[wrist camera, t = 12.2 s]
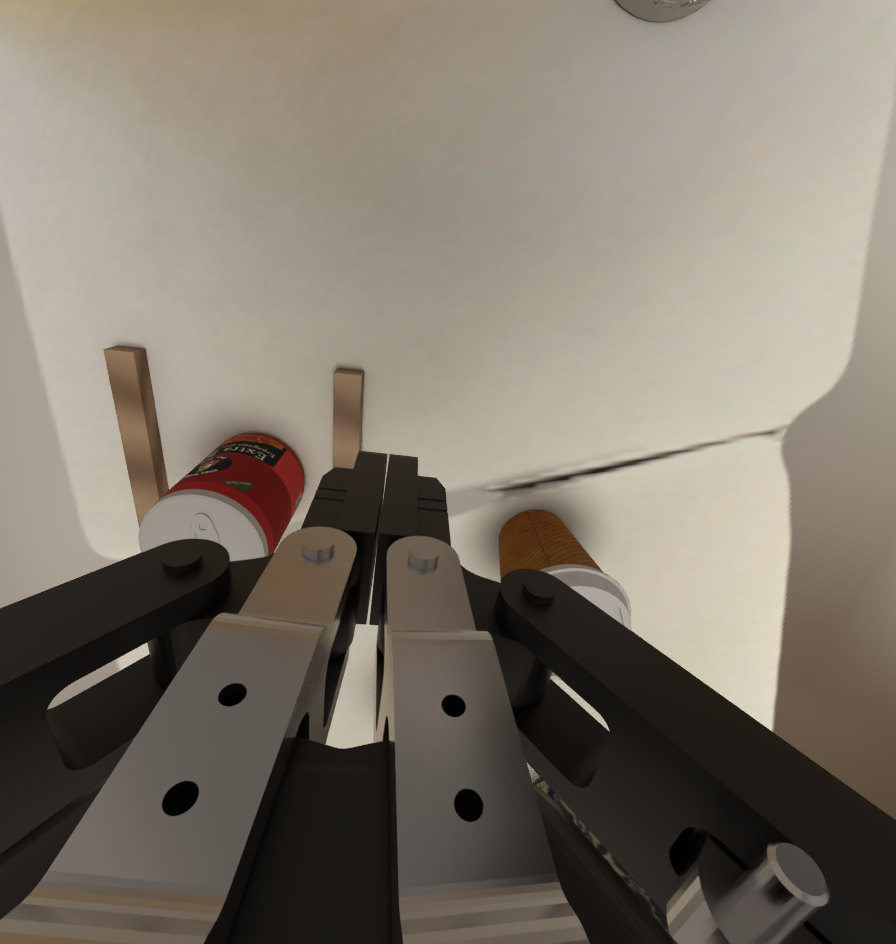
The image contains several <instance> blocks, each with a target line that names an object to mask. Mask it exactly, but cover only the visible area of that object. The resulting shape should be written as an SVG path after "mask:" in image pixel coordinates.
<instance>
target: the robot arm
mask: <svg viewBox="0 0 896 944" xmlns="http://www.w3.org/2000/svg"><path fill="white" fill-rule="evenodd" d="M616 1H617V2H618V3H619V4H620V5H621V7H623V8H624V9H626V10H627V11H629V12H630V13H631V14H633V15H634V16H636V17H639V18H642V19H645V20H648V21H659V22H667V21H671V20H675V19H679V18H683V17H685V16H687V15H689V14H691V13H693V12H695V11H697V10H698V9H700V8H701V7H702V6H704V5H705V4H706V3H707V2H708V1H710V0H616ZM386 464H387V454H384V453H375V452H366V451H359V452H358V455H357V458H356V462H355V465H354V468H353V469H349V468H340V467H335V468H333V469H332V470H330V471H329V472H328V473H326V474H325V475H323V477H322V479H321V481H320V484H319V486H318V490H317V491H316V493H315V496H314V499H313V501H312V503H311V506H310V508H309V510H308V513H307V515H306V518H305V520H304V523H303V525H302V528H301V529H300V530H297V531H295V532H293V533H291V534H289V535H288V536H287V537H286V538H284V540H283V541H282V542H281V543H280V545H279V547H278V548H277V550H276V552H275V553H274V554H272V555H269V556H265V557H261V558H255V559H247V560H238V561H230V556H229V553H228V551H227V549H226V548H225V547H224V546H222V545H221V544H219V543H217V542H214V541H211V540H207V539H182V540H176V541H172V542H168V543H165V544H162V545H160V546H157V547H155V548H152V549H150V550H147V551H145V552H142V553H139V554H137V555H134V556H132V557H129V558H127V559H124V560H122V561H119V562H117V563H114V564H112V565H109V566H107V567H104V568H101V569H99V570H96V571H94V572H91V573H89V574H86V575H84V576H81V577H79V578H76V579H74V580H71V581H69V582H66V583H64V584H61V585H58V586H56V587H54V588H51V589H48V590H46V591H43V592H41V593H38V594H36V595H33V596H31V597H28V598H26V599H23V600H20V601H18V602H15V603H13V604H11V605H8V606H5V607H3V608H1V609H0V944H896V820H894V819H893V818H892V817H890V816H889V815H888V814H886V813H885V812H883V811H882V810H881V809H879V808H878V807H876V806H875V805H874V804H872V803H871V802H870V801H868V800H866V799H865V798H864V797H862V796H861V795H860V794H858V793H857V792H856V791H854V790H853V789H851V788H850V787H848V786H847V785H845V784H844V783H843V782H842V781H840V780H839V779H837V778H836V777H835V776H833V775H832V774H830V773H829V772H828V771H826V770H825V769H823V768H822V767H820V766H819V765H818V764H816V763H815V762H814V761H812V760H810V759H809V758H808V757H807V756H805V755H804V754H802V753H801V752H799V751H798V750H797V749H795V748H794V747H793V746H791V745H790V744H789V743H787V742H786V741H784V740H783V739H782V738H780V737H779V736H777V735H776V734H775V733H773V732H772V731H770V730H769V729H768V728H766V727H765V726H763V725H762V724H761V723H759V722H758V721H756V720H755V719H754V718H752V717H751V716H749V715H748V714H747V713H745V712H744V711H742V710H741V709H740V708H738V707H737V706H735V705H734V704H733V703H731V702H730V701H728V700H727V699H726V698H724V697H723V696H721V695H720V694H719V693H717V692H716V691H714V690H713V689H712V688H710V687H709V686H708V685H706V684H705V683H703V682H702V681H701V680H699V679H698V678H696V677H695V676H694V675H692V674H691V673H689V672H688V671H687V670H685V669H684V668H682V667H681V666H680V665H678V664H677V663H675V662H674V661H673V660H671V659H670V658H668V657H667V656H666V655H664V654H663V653H661V652H660V651H659V650H657V649H656V648H654V647H653V646H652V645H650V644H649V643H647V642H646V641H645V640H643V639H642V638H640V637H639V636H638V635H636V634H635V633H634V632H632V631H631V630H629V629H628V628H627V627H625V626H624V625H622V624H621V623H620V622H618V621H617V620H615V619H614V618H613V617H611V616H610V615H608V614H607V613H606V612H604V611H603V610H601V609H600V608H599V607H597V606H596V605H594V604H593V603H592V602H590V601H589V600H587V599H586V598H585V597H583V596H582V595H580V594H579V593H578V592H576V591H575V590H573V589H572V588H571V587H569V586H568V585H566V584H565V583H564V582H562V581H561V580H559V579H558V578H556V577H555V576H553V575H551V574H548V573H546V572H543V571H539V570H535V569H517V570H513V571H510V572H509V573H507V574H506V575H505V576H504V577H503V578H502V580H501V583H499V582H496V581H492V580H489V579H486V578H483V577H480V576H478V575H475V574H473V573H471V572H470V571H468V570H466V569H465V568H464V567H462V566H461V564H460V560H459V557H458V555H457V553H456V551H455V550H454V549H453V548H452V547H451V542H450V532H449V522H448V513H447V503H446V491H445V488H444V487H443V486H442V484H441V483H440V482H439V481H438V480H437V478H432V477H423V476H418V457H411V456H402V455H393V454H390V456H389V463H388V470H387V477H386V484H385V474H386ZM384 484H385V491H384ZM383 494H384V499H383ZM382 503H383V506H382ZM376 551H377V554H376ZM375 558H376V564H375ZM374 565H375V574H374V584H373V594H372V604H371V614H370V623H369V625H379V626H378V635H377V645H376V654H375V681H374V740H373V743H371V744H367V745H362V746H358V747H353V748H347V749H339V748H334V747H331V746H328V745H325V744H326V740H327V736H328V732H329V728H330V725H331V721H332V717H333V713H334V710H335V706H336V702H337V698H338V695H339V691H340V687H341V683H342V679H343V676H344V672H345V668H346V664H347V661H348V656H349V646H350V645H351V643H352V640H353V637H354V631H355V625H356V624H366V622H367V615H368V608H369V601H370V594H371V586H372V579H373V572H374ZM145 643H148V648H149V653H150V654H149V655H147V656H146V657H144V658H142V659H140V660H138V661H137V662H135V663H133V664H131V665H129V666H128V667H126V668H124V669H122V670H121V671H119V672H117V673H115V674H113V675H112V676H110V677H108V678H106V679H105V680H103V681H101V682H99V683H98V684H96V685H94V686H92V687H90V688H89V689H87V690H85V691H83V692H81V693H80V694H78V695H76V696H74V697H72V698H71V699H69V700H67V701H65V702H64V703H62V704H60V705H58V706H56V707H54V708H51V709H48V710H47V708H48V706H49V704H50V703H51V701H52V700H53V698H54V697H55V696H56V695H57V694H58V693H59V692H60V691H62V690H63V689H64V688H65V687H67V686H68V685H70V684H71V683H73V682H74V681H76V680H78V679H80V678H82V677H84V676H86V675H88V674H89V673H91V672H93V671H95V670H97V669H98V668H100V667H102V666H104V665H106V664H107V663H110V662H112V661H113V660H115V659H117V658H119V657H121V656H123V655H125V654H126V653H128V652H130V651H132V650H134V649H136V648H137V647H139V646H141V645H143V644H145ZM552 673H555V674H556V675H557V676H558V677H559V678H560V679H561V680H562V681H564V682H565V683H566V684H567V685H568V686H569V687H570V688H572V689H573V690H574V691H575V692H576V693H577V694H578V695H579V696H581V697H582V698H583V699H584V700H585V701H586V702H587V703H588V704H590V705H591V706H592V707H593V708H594V709H595V710H596V711H597V712H598V713H599V714H600V715H601V716H602V717H603V719H604V720H605V722H606V723H607V725H608V728H609V730H610V732H609V731H608V730H607V729H606V728H604V727H603V726H602V725H601V724H600V723H599V722H598V721H597V720H596V719H594V718H593V717H592V716H591V715H590V714H589V713H588V712H587V711H586V710H584V709H583V708H582V707H581V706H580V705H579V704H578V703H577V702H576V701H575V700H573V699H572V698H571V697H570V696H569V695H568V694H567V693H566V692H565V691H563V690H562V689H561V688H560V687H559V686H558V685H557V684H556V683H555V682H553V681H552V680H551V679H550V678H551V676H552ZM526 762H527V763H528V764H529V765H530V766H531V767H532V768H533V769H534V770H535V772H536V773H537V774H538V775H539V776H540V777H541V778H542V779H543V780H544V781H545V782H546V784H547V785H548V786H549V787H550V788H551V789H552V790H553V791H554V792H555V793H556V794H557V796H558V797H559V798H560V799H561V800H562V801H563V802H564V803H565V804H566V805H567V806H568V808H569V809H570V810H571V811H572V812H573V813H574V814H575V815H576V816H577V817H578V818H579V820H580V821H581V822H582V823H583V824H584V825H585V826H586V827H587V828H588V829H589V830H590V832H591V833H592V834H593V835H594V836H595V837H596V838H597V839H598V840H599V841H600V842H601V844H602V845H603V846H604V847H605V848H606V849H607V850H608V851H609V852H610V853H611V855H612V856H613V857H614V858H615V859H616V860H617V861H618V862H619V863H620V864H621V865H622V867H623V868H624V869H625V870H626V871H627V872H628V873H629V874H630V875H631V876H632V877H633V879H634V880H635V881H636V882H637V883H638V884H639V885H640V886H641V887H642V888H643V889H644V891H645V892H646V893H647V894H648V895H649V896H650V897H651V898H652V899H653V900H654V901H655V903H656V904H657V905H658V906H659V907H660V908H661V909H662V910H663V911H664V912H665V913H666V915H667V921H668V928H669V932H670V934H669V933H668V932H667V930H666V929H665V928H664V927H663V926H662V924H661V923H660V922H659V921H658V920H657V919H656V917H655V916H654V915H653V914H652V913H651V912H650V910H649V909H648V908H647V907H646V906H645V905H644V903H643V902H642V901H641V900H640V899H639V898H638V896H637V895H636V894H635V893H634V892H633V891H632V889H631V888H630V887H629V886H628V885H627V884H626V882H625V881H624V880H623V879H622V878H621V877H620V875H619V874H618V873H617V872H616V871H615V870H614V868H613V867H612V866H611V865H610V864H609V863H608V861H607V860H606V859H605V858H604V857H603V856H602V854H601V853H600V852H599V851H598V850H597V849H596V847H595V846H594V845H593V844H592V843H591V842H590V840H589V839H588V838H587V837H586V836H585V835H584V833H583V832H582V831H581V830H580V829H579V828H578V826H577V825H576V824H575V823H574V822H573V821H572V819H571V818H570V817H569V816H568V815H567V814H566V813H565V811H564V810H563V809H562V808H561V807H560V806H559V805H558V804H557V803H556V802H555V801H554V800H553V799H552V798H551V797H549V796H548V795H547V794H546V793H545V792H544V791H543V790H541V789H540V788H539V787H537V786H536V785H535V784H534V783H532V781H531V777H530V774H529V770H528V766H527V763H526Z"/></svg>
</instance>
